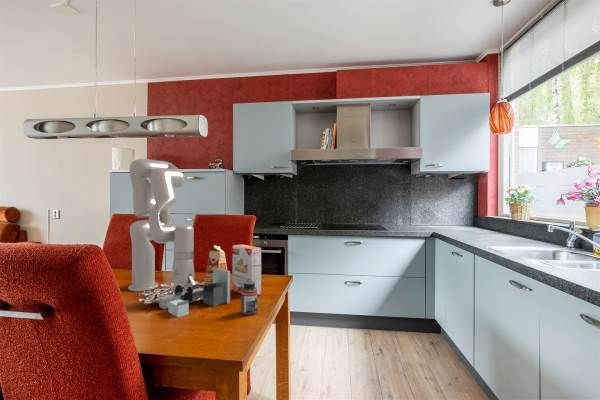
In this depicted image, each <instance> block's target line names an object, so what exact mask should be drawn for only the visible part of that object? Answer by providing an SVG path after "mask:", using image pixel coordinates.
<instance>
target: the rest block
mask: <svg viewBox="0 0 600 400" xmlns="http://www.w3.org/2000/svg"><path fill="white" fill-rule="evenodd" d="M189 304H190V303H189V300H186V301H182V300H180V299H179V296H178V297H174V298H170V299H168V308H167V312H168V313H169V314H171V315H172V316H175V317H176V318H180V317H184V316H187V315H188V316H189V311H190V310H189V306H190V305H189Z"/></svg>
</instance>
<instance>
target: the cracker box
mask: <svg viewBox="0 0 600 400" xmlns="http://www.w3.org/2000/svg"><path fill="white" fill-rule="evenodd" d="M231 252H232V253H231V254H232V260H231V261H232V264H231V265H232V271H231V272H232V273H231V277H232V285H231V286H232V287H231V289H232V290H231V291H233V292H235V293H239V294H241V290H242V288H243V287H244V282H246V281H254V282H255V287H256V288H257V291H258V292H257V293H258V296H261V295H262V247H257V246H254V245H252V246H251V245H247V244H243V243H242V244H234V245H232V251H231Z"/></svg>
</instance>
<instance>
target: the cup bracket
mask: <svg viewBox="0 0 600 400" xmlns="http://www.w3.org/2000/svg"><path fill="white" fill-rule="evenodd" d="M202 288H203V299H202V303H203V304H205V305H209V306H211V307H214V308H215V307H218V306H220V305H224V304H225V305H226V304H227V305H229V304H231V271H230V270H228V269H227V270H224V269H220V268H216V267H215V268H213V283H211V284H207V285H204V284H203V287H202Z"/></svg>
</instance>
